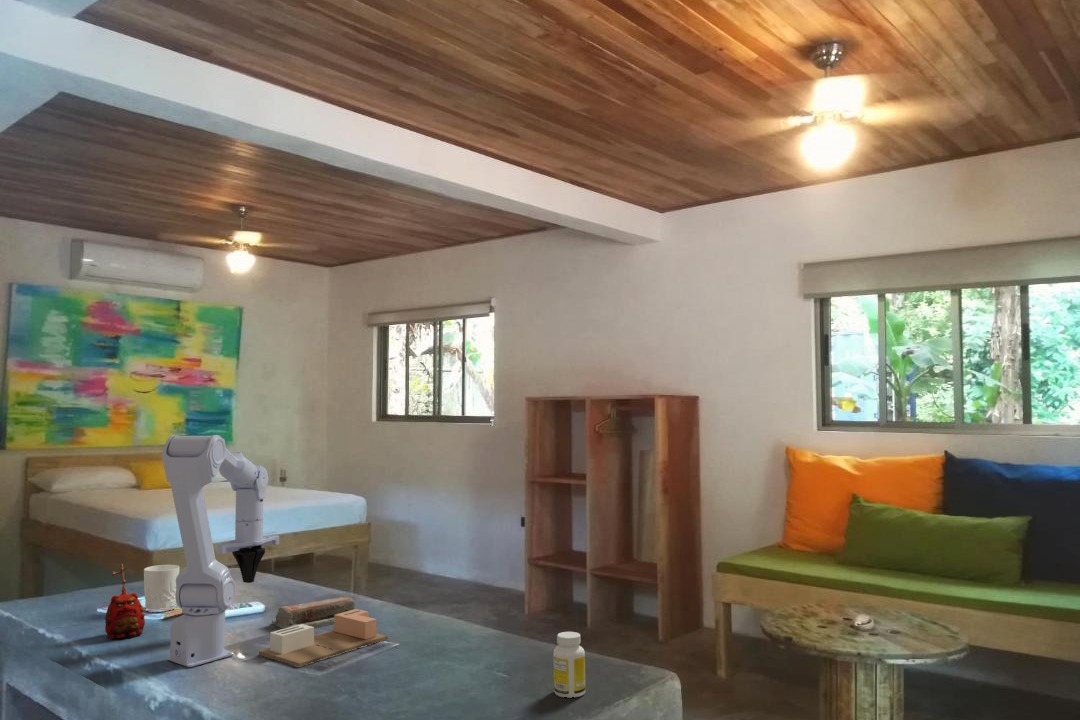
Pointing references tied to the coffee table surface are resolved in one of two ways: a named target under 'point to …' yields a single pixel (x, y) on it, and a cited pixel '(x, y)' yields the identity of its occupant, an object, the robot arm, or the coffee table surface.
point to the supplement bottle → (569, 666)
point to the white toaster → (291, 638)
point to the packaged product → (313, 612)
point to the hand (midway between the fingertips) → (248, 582)
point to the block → (355, 624)
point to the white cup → (160, 586)
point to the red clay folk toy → (124, 614)
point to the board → (322, 648)
